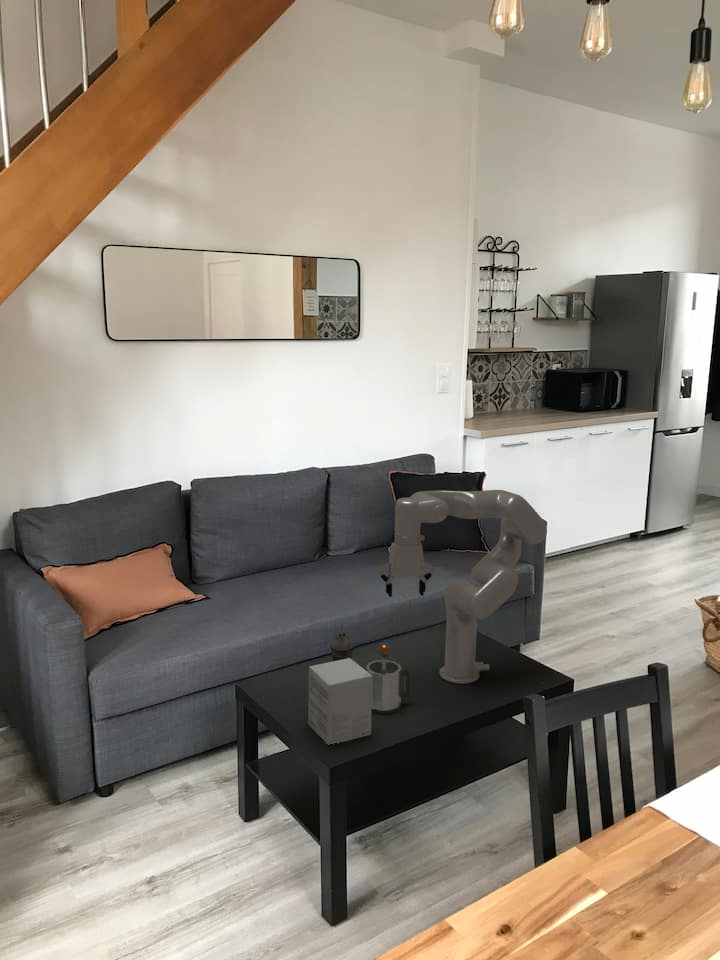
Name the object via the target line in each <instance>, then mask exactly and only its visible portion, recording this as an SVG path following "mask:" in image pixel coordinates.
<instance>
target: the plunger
mask: <svg viewBox="0 0 720 960" xmlns="http://www.w3.org/2000/svg"><path fill="white" fill-rule="evenodd" d="M376 652H377V655H379V657H381V660H382V674H386V660H387V657H389V656H390V655H391V653H392V647H391V645H390V644H388V643H385V642H383V643H380V644H379V645H378V647H377V651H376Z"/></svg>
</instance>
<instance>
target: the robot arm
mask: <svg viewBox="0 0 720 960" xmlns="http://www.w3.org/2000/svg"><path fill="white" fill-rule="evenodd" d="M394 505H395V506H394V507H395V509H394V510H395V513H394V542H392V543H391V545H390V548H389V549H390V550H389V558H388V562H387V563H385V564H384V565H381V566H379V567H377V573H378V575H379V576H380V578H381V579H382V580H383V581H384V582H385V593H386V594H387V595H388V597H389V598H392V597H393V584H392V582H393V581H394V580H395V579H401V578H402V579H407V578H408V579H409V578H419V581H418V582H419V583H418V593H419V595H420V596H421V597H422V596H425V595H424V593H426V584H427V582H428V580H429V579H430V578H432V575H433V574H434V572H435V570H436V568H435V566H433V565H431V564H429V563H427V562H425V561H424V550H423V544H422V543H421V542H422V541H425V539H426V538H425V535H422V534H421V524H422V523H426V524H427V523H428V524H437V523H441V522H443V521H444V520H446V518H447V517H448V516H452V517H456V518H459V519H466V520H475V519H488V518H500V519H501V522H500V536H499V539H498V542H497V544H496V545H494V547H493V548H492V549H491V550H490V551H488V552H487V554H486V555H485V556H483V557H482V558H481V559H480V560H479V561H478V562H477V563H476V564H475V565H474V566H473V568H472V570H471V573H470V575H471V579H472V580H473V582H475V583H473V582H472V581H469V580H466V579H464V578H456V579H454V580H452V581H451V580H450V582H449V583H448V584H447V586H446V587H445V589H444V590H445V592H444V604H445V610H446V626H445V627H446V629H445V648H444V649H445V650H444V651H445V653H444V665H443V666H442V667H441V668H439V676H440V677H441V678H442V679H443V680H445V681H446V682H450V683H453V684H465V685H466V684H470V683H474V682H476V681H477V680H479V678H480V672H481V671H490V670H491V669H490V664H489V663H487V664H486V663H485V664H484V661H478V662H477V661H476V650H477V649H476V648H477V630H478V628H477V627H478V622H477V620H478V621H479V620H480V621H481V620H486V619H487V618H488V617H490V616H491V615H492V614H493V613H494V612H496V610H498V609H499V608H500V607H501V606H502V605H503V604H504V603H505V602H506V601H507V600H508V599H509V598H510V597H511V596H512V595H513V594H514V593H515V591H516V588H517V587H518V584H519V577H518V576H519V575H518V573H517V571H516V569H514V566H515V565H516V564H517V563H518V562H519V561H520V558H521V555H522V542H525V543H527V544H529V545H538V544H541V543H542V542H543V541H544V540H545V539H546V537H547V534H548V527H547V523H546V522H545V520H544V519H543V518H542V517H541V515H539V513H538V512H537V511H536V509H534V507H533V506H532V505H531V504H530V503H529V502H528V501H527V500H526V499H525V497H523V496H521V495H520V494H517V493H513V492H511V491H510V492H509V491H507V490H503V489H490V490H489V489H488V490H475V491H474V490H471V491H464V490H462V491H461V490H425V491H424V490H423V491H422V490H421V491H417V492H415V493H413V494H412V495H410V497H400V498H398V499H397V500H396V501H395V504H394ZM425 569H427V570H428V571H427V572H426V573H425ZM387 570H388V573H389V574H387V575H386V574H385V573H384V572H385V571H387Z"/></svg>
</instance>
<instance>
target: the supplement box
mask: <svg viewBox="0 0 720 960" xmlns="http://www.w3.org/2000/svg"><path fill="white" fill-rule="evenodd" d="M371 707H372V675H370V674H369V673H368V672H367V671H366V669H365V668H363V667H362V666H360V665H359V663H357V662H356V661H354V660H353V659H352V658H351V659H350V658H347V659H343V660H338V661H333V660H332V661H329V662H325V663H324V662H323V663H319V664H315V665H311V666H310V665H309V666H308V711H307V712H308V714H307V715H308V723H307V724H308V726H309V727H310V728H311V729H312V730H313V731H314V732H315V733H316V735H317V736H318V737H321V738H322V739H323V740H324V741H325V742H326V743H325V742H324V741H323V740H322V739H321V738H320V739H321V740H322V741H323V742H324V743H325V744H326V745H327V744H328V745H330V744H333V745H335V744H334V743H337V744H341V743H345V742H349V741H352V740H355V739H359V738H363V737H367V736H371V734H372V712H371ZM340 742H341V743H340ZM328 745H327V746H328ZM330 746H331V745H330Z"/></svg>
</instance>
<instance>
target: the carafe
mask: <svg viewBox="0 0 720 960" xmlns="http://www.w3.org/2000/svg"><path fill="white" fill-rule="evenodd" d="M365 670H366V671H367V672H368V673H369V674H370V675H372V707H371V713H374V714H378V715H391V714H394V713H396V712H398V711H400V709H401V707H402V706H401V705H402V703H401V701H402V699H405V698H406V699H407V698H410V683H411V681H410V680H411V678H410V677H411V673H410V670H409V669H402V667H401V664H400V663H397V662H396V661H393V660H387V659H386V674H382V659H379V660H374V661H370V662H368V664H367V665H366V666H365ZM402 677H403V678H404V682H403V684H404V685H403V691H402Z"/></svg>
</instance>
